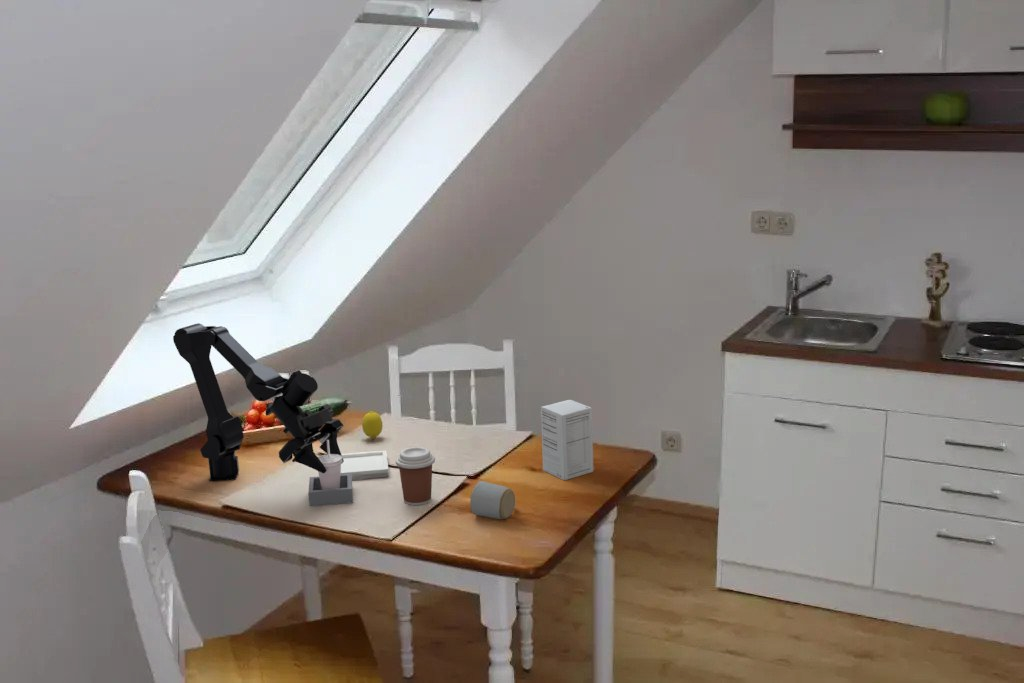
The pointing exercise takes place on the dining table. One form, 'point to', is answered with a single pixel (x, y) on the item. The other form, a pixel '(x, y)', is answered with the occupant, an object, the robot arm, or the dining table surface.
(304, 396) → the robot arm
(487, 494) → the grey cylinder
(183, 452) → the dining table surface
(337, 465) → the smoothie
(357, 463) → the tray
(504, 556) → the dining table surface
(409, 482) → the coffee cup
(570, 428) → the supplement box
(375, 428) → the lemon
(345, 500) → the holder
